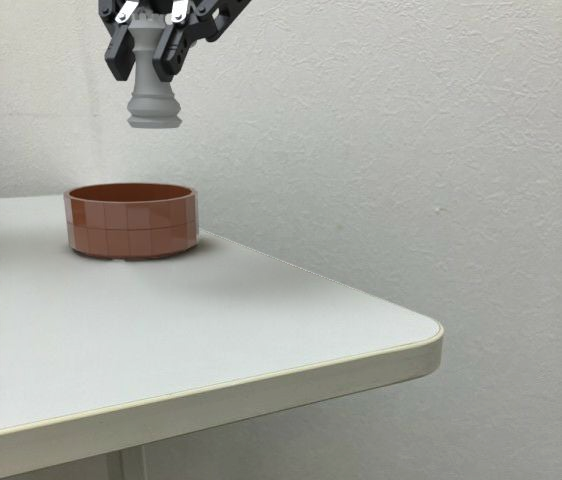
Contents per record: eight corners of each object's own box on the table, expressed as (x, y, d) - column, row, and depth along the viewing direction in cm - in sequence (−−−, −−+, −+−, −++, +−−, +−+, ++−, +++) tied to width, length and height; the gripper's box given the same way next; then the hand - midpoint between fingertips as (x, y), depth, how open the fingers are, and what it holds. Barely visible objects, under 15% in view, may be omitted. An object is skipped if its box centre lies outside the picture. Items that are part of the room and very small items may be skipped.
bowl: (42, 254, 70) (34, 196, 68) (115, 228, 83) (111, 179, 80) (160, 267, 66) (156, 206, 64) (219, 239, 78) (217, 187, 76)
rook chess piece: (192, 126, 55) (188, 16, 51) (165, 129, 51) (159, 11, 47) (145, 124, 56) (138, 17, 53) (115, 127, 52) (106, 12, 49)
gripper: (111, -126, 54) (33, 32, 49) (271, -140, 50) (206, 31, 44) (148, -40, 61) (83, 107, 56) (292, -46, 57) (237, 112, 51)
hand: (138, 72), depth 50 cm, fingers closed on rook chess piece, 3 cm apart
